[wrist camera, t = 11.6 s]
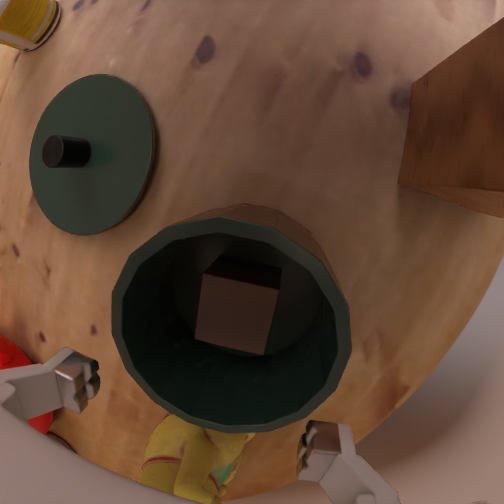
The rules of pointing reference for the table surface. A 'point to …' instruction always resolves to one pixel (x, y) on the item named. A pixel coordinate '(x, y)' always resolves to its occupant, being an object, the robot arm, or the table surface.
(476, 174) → the stand
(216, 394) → the tin
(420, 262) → the table surface
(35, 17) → the pill bottle
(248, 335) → the block
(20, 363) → the teapot
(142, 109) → the tin lid
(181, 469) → the figurine
